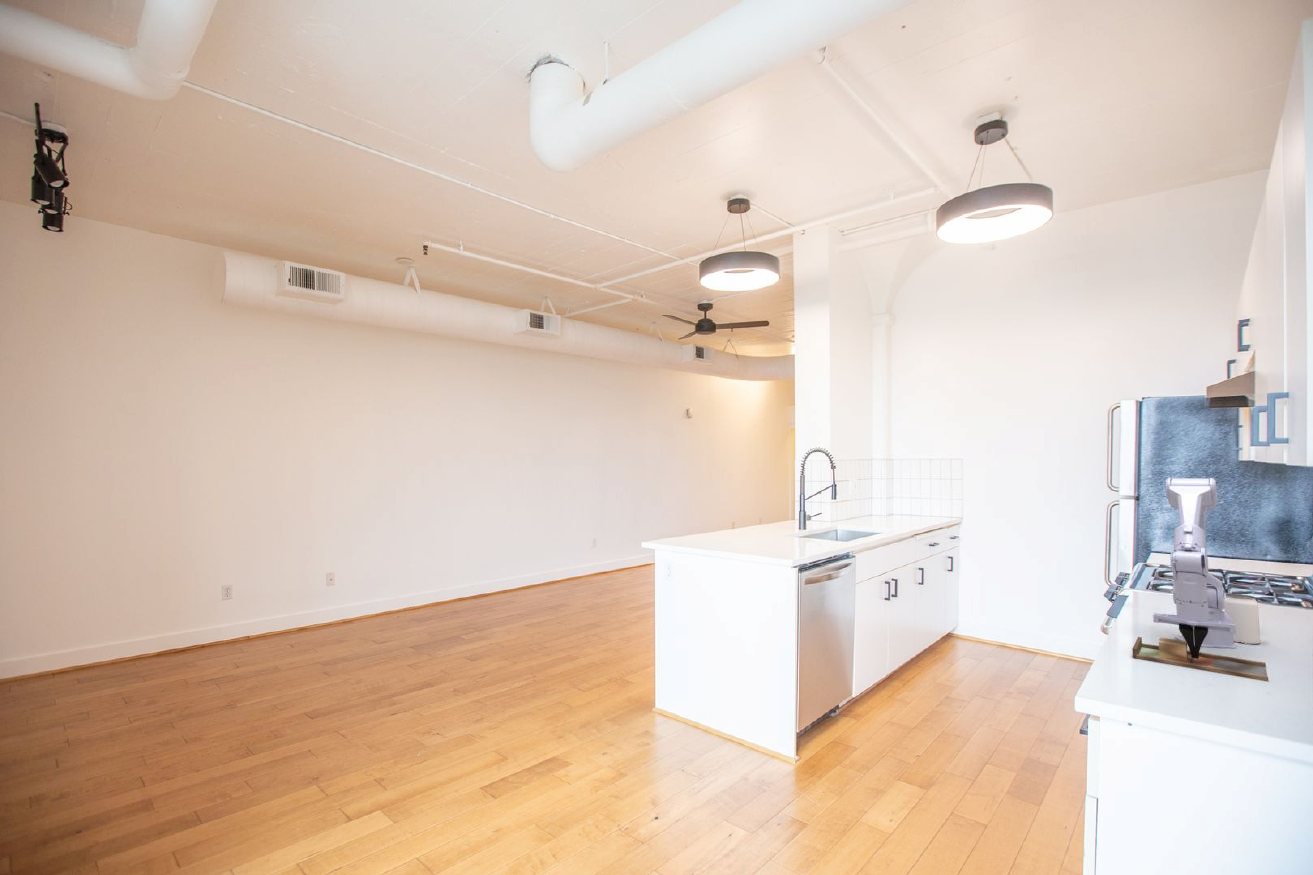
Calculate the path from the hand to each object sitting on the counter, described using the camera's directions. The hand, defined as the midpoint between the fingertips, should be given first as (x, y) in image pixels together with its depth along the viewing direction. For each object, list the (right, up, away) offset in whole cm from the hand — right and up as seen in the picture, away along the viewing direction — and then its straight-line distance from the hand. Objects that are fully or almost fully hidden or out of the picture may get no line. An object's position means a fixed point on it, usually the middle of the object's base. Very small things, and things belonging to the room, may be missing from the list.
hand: (1195, 657), depth 139 cm
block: (-3, -1, +3) cm, 4 cm away
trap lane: (0, -1, 0) cm, 1 cm away
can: (+27, -2, +15) cm, 31 cm away
